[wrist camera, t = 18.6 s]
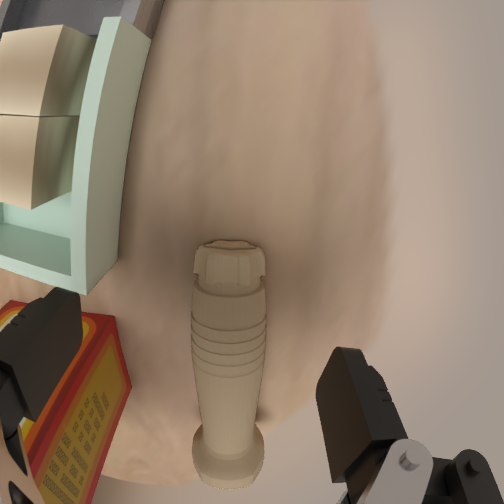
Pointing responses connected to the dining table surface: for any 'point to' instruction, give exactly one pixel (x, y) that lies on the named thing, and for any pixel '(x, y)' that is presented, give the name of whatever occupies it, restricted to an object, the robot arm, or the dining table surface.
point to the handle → (228, 361)
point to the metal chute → (78, 14)
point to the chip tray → (85, 176)
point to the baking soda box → (77, 414)
